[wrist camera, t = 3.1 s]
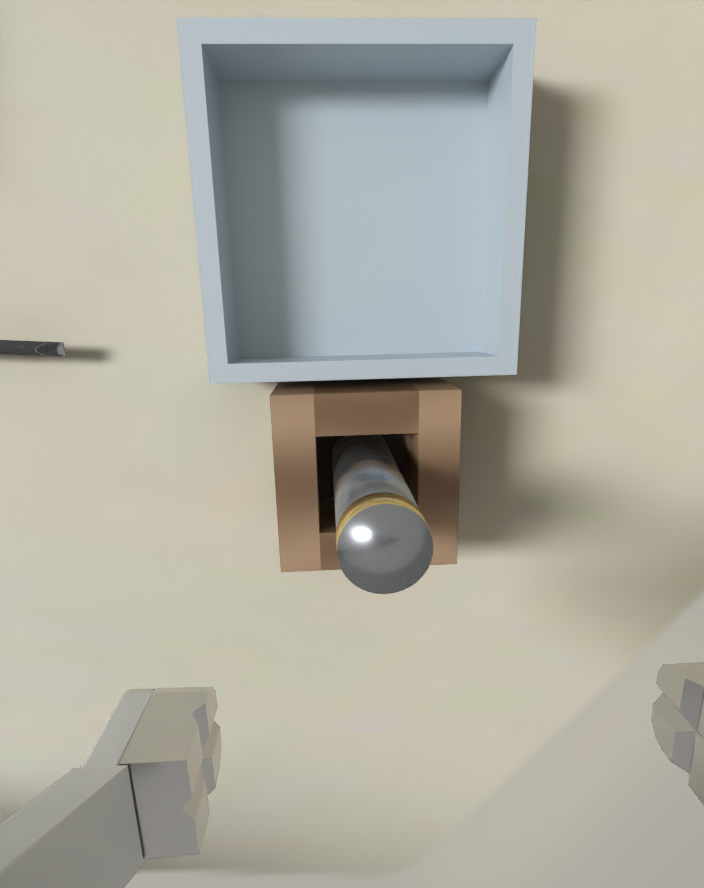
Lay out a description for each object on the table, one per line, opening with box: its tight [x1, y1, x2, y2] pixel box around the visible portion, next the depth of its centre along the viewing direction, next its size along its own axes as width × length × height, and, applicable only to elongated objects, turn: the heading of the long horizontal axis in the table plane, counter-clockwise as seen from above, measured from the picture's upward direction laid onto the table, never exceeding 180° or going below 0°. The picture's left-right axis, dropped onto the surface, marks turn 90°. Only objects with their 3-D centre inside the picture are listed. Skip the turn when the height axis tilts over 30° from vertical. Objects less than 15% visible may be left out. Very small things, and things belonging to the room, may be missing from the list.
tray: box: [176, 18, 536, 384], centre depth 22 cm, size 13×13×4 cm
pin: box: [332, 434, 433, 594], centre depth 21 cm, size 3×3×11 cm
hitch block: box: [270, 377, 462, 572], centre depth 24 cm, size 8×8×4 cm
